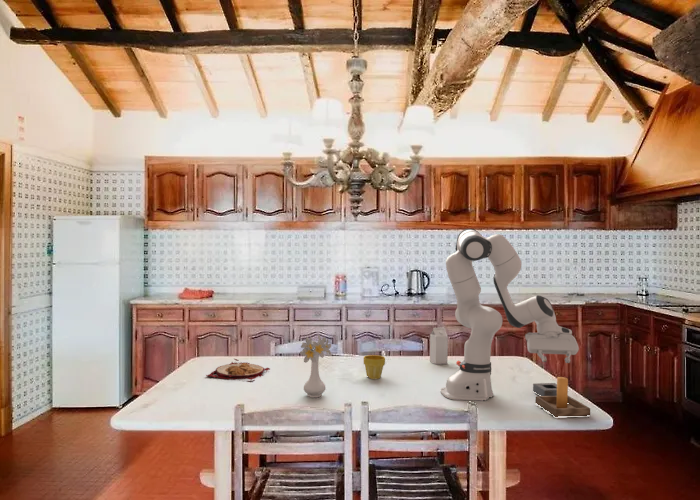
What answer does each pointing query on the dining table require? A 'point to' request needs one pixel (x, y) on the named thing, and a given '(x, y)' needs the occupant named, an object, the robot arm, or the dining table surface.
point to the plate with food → (239, 371)
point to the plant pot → (374, 366)
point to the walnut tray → (572, 408)
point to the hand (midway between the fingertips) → (556, 361)
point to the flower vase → (314, 365)
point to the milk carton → (438, 346)
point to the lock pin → (562, 392)
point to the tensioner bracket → (545, 389)
